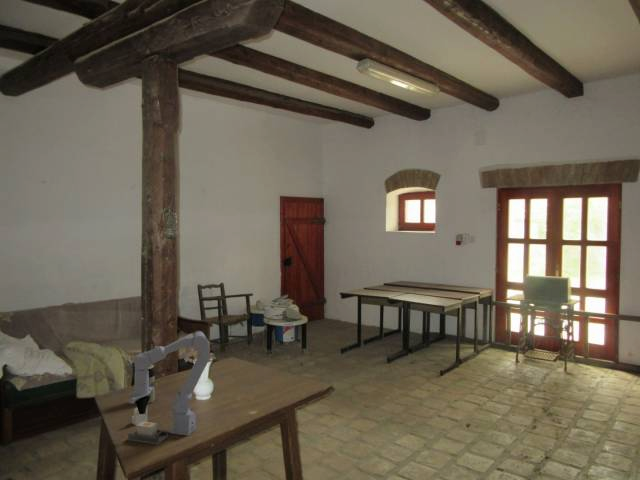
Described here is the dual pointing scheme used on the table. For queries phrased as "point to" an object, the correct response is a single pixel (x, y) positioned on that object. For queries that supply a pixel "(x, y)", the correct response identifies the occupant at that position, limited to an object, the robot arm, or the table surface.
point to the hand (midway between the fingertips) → (142, 413)
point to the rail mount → (149, 437)
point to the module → (147, 429)
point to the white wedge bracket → (139, 417)
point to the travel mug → (151, 383)
